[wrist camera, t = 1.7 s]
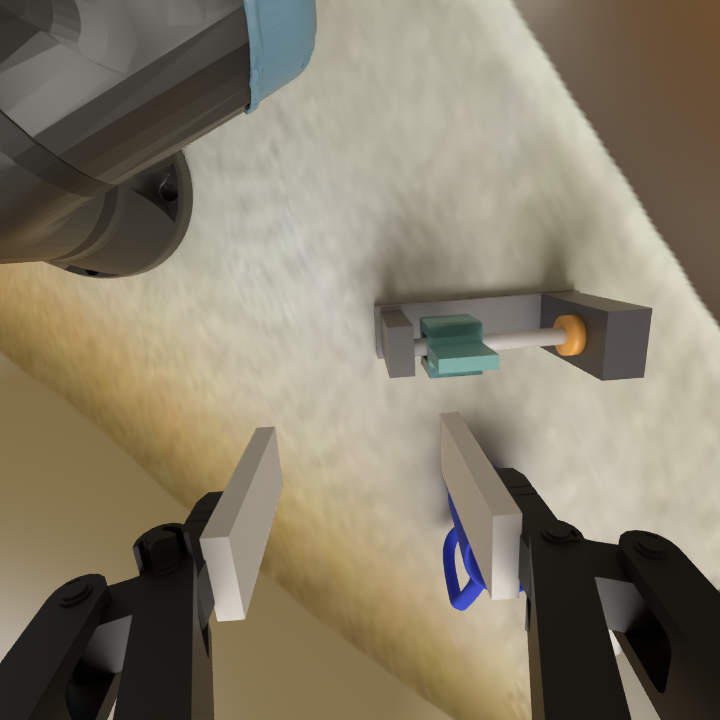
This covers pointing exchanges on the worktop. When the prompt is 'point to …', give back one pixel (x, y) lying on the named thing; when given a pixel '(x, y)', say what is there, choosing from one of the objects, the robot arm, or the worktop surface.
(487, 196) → the worktop surface
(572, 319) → the grey slider rail stand
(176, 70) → the robot arm
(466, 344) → the sleeve
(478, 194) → the worktop surface
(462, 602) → the mug
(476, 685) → the worktop surface
